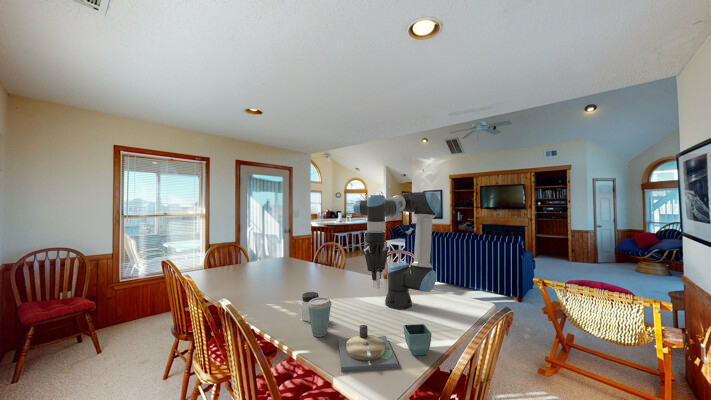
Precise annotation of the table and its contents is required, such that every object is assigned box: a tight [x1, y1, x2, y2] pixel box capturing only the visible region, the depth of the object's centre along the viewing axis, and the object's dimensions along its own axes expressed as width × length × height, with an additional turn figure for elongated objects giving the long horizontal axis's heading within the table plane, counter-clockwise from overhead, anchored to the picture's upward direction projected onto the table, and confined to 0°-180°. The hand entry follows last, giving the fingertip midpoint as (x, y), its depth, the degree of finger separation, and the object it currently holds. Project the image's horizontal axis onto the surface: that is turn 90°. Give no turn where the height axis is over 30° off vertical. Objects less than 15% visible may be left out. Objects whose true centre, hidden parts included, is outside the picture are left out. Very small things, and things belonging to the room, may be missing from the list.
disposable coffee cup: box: [308, 296, 332, 338], centre depth 122 cm, size 11×11×15 cm
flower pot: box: [403, 323, 433, 356], centre depth 107 cm, size 9×9×9 cm
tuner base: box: [338, 335, 399, 372], centre depth 105 cm, size 20×20×2 cm
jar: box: [301, 291, 320, 323], centre depth 139 cm, size 9×8×12 cm
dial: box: [346, 324, 385, 360], centre depth 105 cm, size 17×15×6 cm
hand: (376, 287), depth 116 cm, fingers closed
